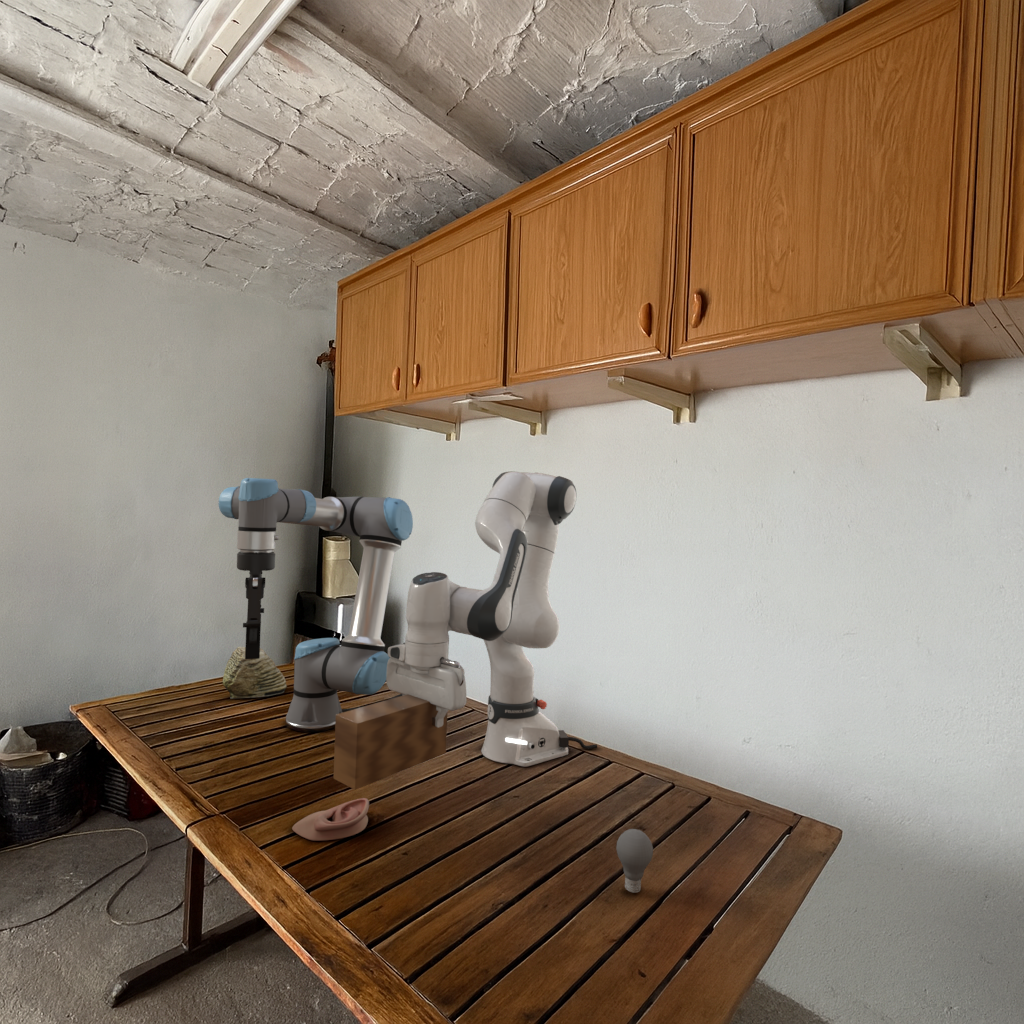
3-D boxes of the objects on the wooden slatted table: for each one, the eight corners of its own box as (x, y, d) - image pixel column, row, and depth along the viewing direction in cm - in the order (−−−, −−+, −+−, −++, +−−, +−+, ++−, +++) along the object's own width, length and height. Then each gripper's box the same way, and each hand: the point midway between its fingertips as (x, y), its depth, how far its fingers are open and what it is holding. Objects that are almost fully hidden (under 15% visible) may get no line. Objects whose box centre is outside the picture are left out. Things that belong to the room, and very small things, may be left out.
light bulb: (610, 879, 108) (613, 822, 108) (644, 879, 109) (647, 822, 109) (619, 902, 102) (622, 840, 102) (655, 901, 103) (658, 840, 103)
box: (355, 790, 112) (357, 723, 112) (333, 778, 116) (335, 714, 116) (445, 753, 129) (448, 695, 129) (424, 744, 133) (426, 688, 133)
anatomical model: (284, 814, 117) (315, 787, 129) (283, 836, 118) (314, 807, 129) (350, 825, 115) (376, 796, 126) (349, 847, 115) (375, 816, 126)
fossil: (218, 695, 195) (220, 647, 195) (278, 685, 208) (279, 640, 207) (228, 703, 189) (230, 653, 188) (289, 692, 201) (290, 645, 201)
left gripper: (276, 556, 124) (272, 664, 124) (274, 546, 147) (271, 637, 148) (234, 556, 121) (230, 666, 122) (239, 545, 144) (236, 638, 145)
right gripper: (475, 660, 124) (472, 730, 124) (405, 642, 137) (402, 705, 137) (452, 666, 119) (449, 739, 120) (382, 646, 132) (379, 712, 132)
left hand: (252, 650), depth 135 cm, fingers open, 13 cm apart
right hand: (424, 721), depth 129 cm, fingers closed on box, 6 cm apart
